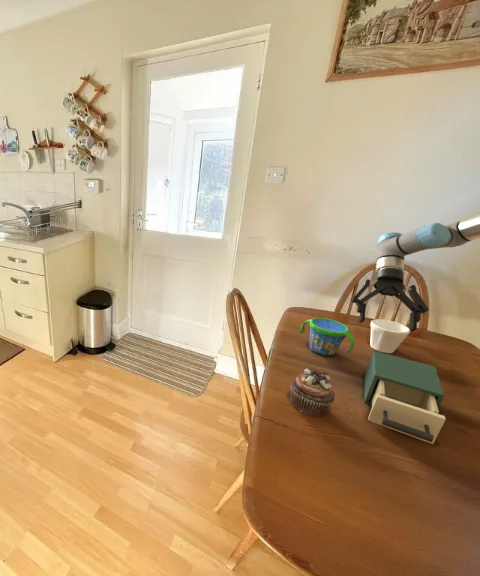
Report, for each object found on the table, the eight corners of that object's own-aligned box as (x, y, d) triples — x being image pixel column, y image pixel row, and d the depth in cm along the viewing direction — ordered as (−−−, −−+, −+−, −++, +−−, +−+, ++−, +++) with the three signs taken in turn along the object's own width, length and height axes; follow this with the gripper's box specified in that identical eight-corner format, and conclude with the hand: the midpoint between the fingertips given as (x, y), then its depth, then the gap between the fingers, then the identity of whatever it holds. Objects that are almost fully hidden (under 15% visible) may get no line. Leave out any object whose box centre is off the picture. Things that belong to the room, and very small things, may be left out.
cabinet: (429, 425, 77) (444, 395, 73) (364, 402, 84) (374, 374, 81) (422, 393, 87) (435, 366, 84) (364, 376, 95) (374, 350, 91)
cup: (404, 350, 107) (414, 327, 104) (395, 360, 102) (405, 335, 99) (368, 338, 115) (376, 316, 112) (358, 347, 110) (366, 323, 106)
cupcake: (284, 390, 89) (291, 360, 86) (324, 398, 86) (333, 367, 82) (290, 413, 81) (298, 381, 77) (334, 423, 78) (345, 390, 74)
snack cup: (355, 358, 103) (365, 331, 100) (336, 366, 99) (345, 339, 95) (308, 337, 117) (315, 312, 113) (290, 343, 112) (296, 318, 109)
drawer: (436, 459, 67) (450, 433, 64) (367, 433, 74) (377, 408, 71) (425, 410, 80) (436, 387, 77) (368, 391, 87) (376, 369, 84)
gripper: (430, 282, 111) (430, 337, 105) (344, 271, 123) (339, 321, 116) (442, 272, 105) (443, 330, 99) (350, 262, 117) (345, 314, 110)
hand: (386, 325), depth 107 cm, fingers open, 13 cm apart
